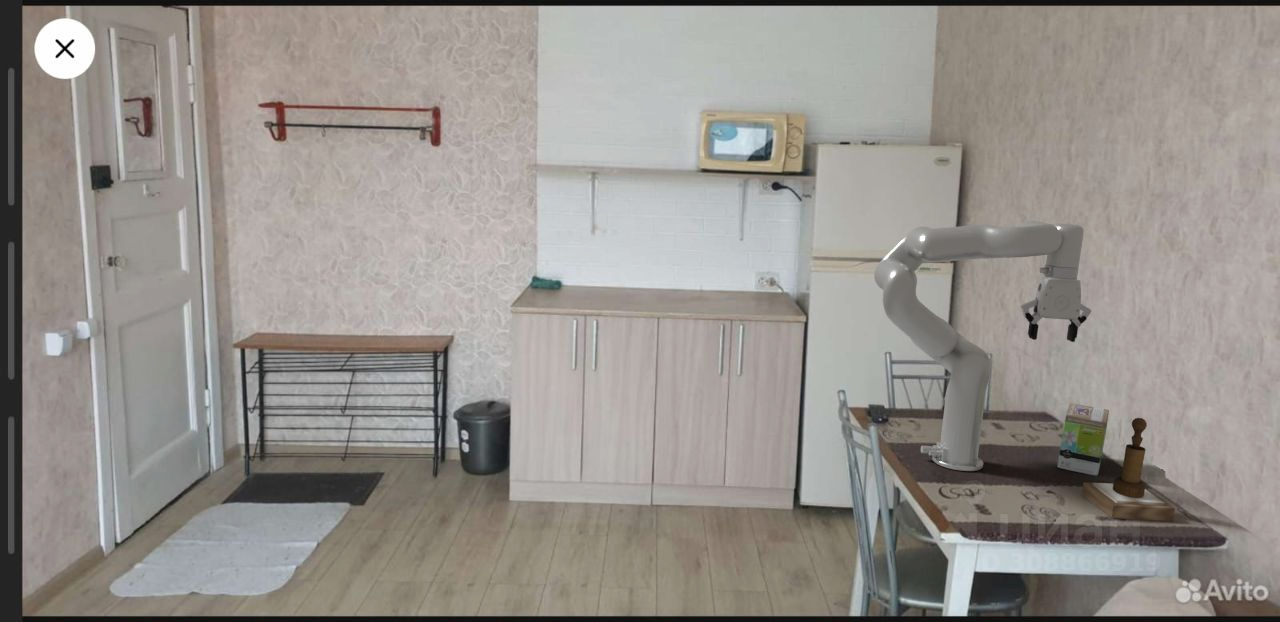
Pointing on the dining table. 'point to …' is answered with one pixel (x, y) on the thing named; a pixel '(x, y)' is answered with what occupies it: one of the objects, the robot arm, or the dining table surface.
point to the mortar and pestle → (1132, 464)
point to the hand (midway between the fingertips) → (1051, 339)
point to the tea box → (1083, 439)
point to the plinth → (1127, 503)
